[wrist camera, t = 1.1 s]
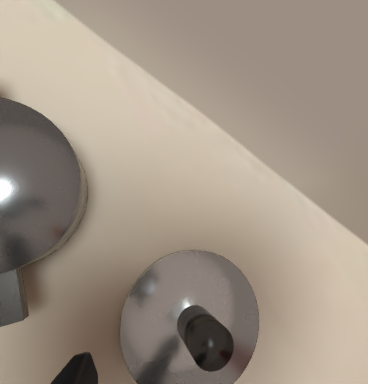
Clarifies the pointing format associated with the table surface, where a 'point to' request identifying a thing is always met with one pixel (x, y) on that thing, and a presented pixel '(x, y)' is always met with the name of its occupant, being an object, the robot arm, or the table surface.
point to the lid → (189, 321)
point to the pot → (33, 198)
